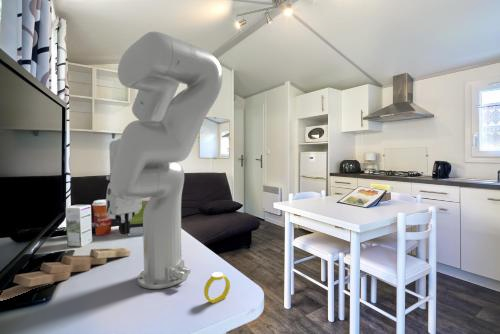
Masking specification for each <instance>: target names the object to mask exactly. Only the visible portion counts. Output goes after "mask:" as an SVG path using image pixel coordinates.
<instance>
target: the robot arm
mask: <svg viewBox="0 0 500 334" xmlns="http://www.w3.org/2000/svg"><path fill="white" fill-rule="evenodd" d="M117 77H118V81H119V82H120V84H121V85H122V86H123V87H125V88H129V89H133V90H137V93H136V96H135V99H134V101H133V103H132V107H131V112H132V113H133V116H134V117H135V118H136V119H137V120H133V121H131V122H130V123H128V124H127V125H126V127H124V129H123V130H122V133H121V136H120V137H119V138H117V139H116V140H111V141H110V143H109V147H108V148H109V174H108V175H106V176H105V178H106V180H107V181H109V183H108V185H107V189H106V197H105V200H106V211H107V213H108V214H107V218H109V219H112V220H115V221H116V222H117V223H118V232H119V234H121V235H128V234H129V233H130V221H131V220H132V217H133V216H134V215H135V214H137V213H139V212H140V209H141V208H142V200H141V198H145V197H151V198H150V199H149V201H148V203H147V205H146V206H145V209H144V212H143V235H142V238H143V243H142V244H143V245H142V247H143V271H141V272H140V273H139V274H138V275H137V284H138V285H139V286H140V287H142V288H145V289H148V290H161V289H165V288H166V289H167V288H171V287H173V286H176V285H179V284H180V283H182V282H185V281H186V280H187V279H188V276H189V275H190V274H191V268H187V267H186V266H185V260H184V259H183V260H182V197H183V195H182V194H183V189H184V184H185V171H184V168H183V166H182V165H181V164H180V163H181V162H184V161H185V160H186V159H188V157H189V156H190V153H191V152H192V149H193V147H194V144H195V143H196V141H197V138H198V135H199V133H200V131H201V129H202V126H203V123H204V121H205V119H206V117H207V115H208V114H209V112H210V110H211V108H212V107H213V105H214V104H215V102H216V101H217V99H218V97H219V95H220V92H221V90H222V89H221V88H222V86H223V85H222V84H223V69H222V66H221V64H220V61H219V60H218V59H217V58H216V57H215V56H214V55H213V54H212V53H210V52H208V51H207V50H205V49H203V48H201V47H199V46H196V45H194V44H191V43H188V42H186V41H184V40H181V39H179V38H176V37H174V36H171V35H169V34H165V33H163V32H160V31H159V32H158V31H149V32H147V33H145V34H143V35H142V36H141V37H139V39H137V40H136V41H135V42H134V43H132V44H131V45H130V46H129V47H128V48H127V49H126V50H125V51H124V53H123V54H122V56H121V57H120V60H119V62H118V65H117ZM180 84H182V85H183V84H184V85H186V88H184V89H182V90H180V92H178V93H177V94H176V92H177V91H178V88H179V85H180ZM175 94H176V95H175ZM179 162H180V163H179Z"/></svg>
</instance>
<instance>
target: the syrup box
mask: <svg viewBox="0 0 500 334" xmlns="http://www.w3.org/2000/svg"><path fill="white" fill-rule="evenodd" d="M65 216H66V217H65V222H66V238H67V239H66V241H67V244H66V245H67V247H72V248H73V247H76V248H77V247H78V248H79V247H80V248H82V247H85V246H87V245H89V244H91V243H93V235H92V234H93V233H92V232H93V231H92V204H74V205H70V206H67V207H65Z"/></svg>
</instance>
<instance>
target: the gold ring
mask: <svg viewBox="0 0 500 334" xmlns="http://www.w3.org/2000/svg"><path fill="white" fill-rule="evenodd" d="M210 276H211V277H210V278H209V279H208V280H207V281H206V282H205V285H204V289H203V293H204V297H205V299H206V300H207V301H208V302H209V303H211V304H215V303H218V302H220V301H223V300H225V299H226V297H227V296H228V294H229V292H230V289H231V288H230V287H231V284H230V283H231V282H230V280H229V278H228V277H227V276H226V275H224V272H221V271H215V272H212V273H211V275H210ZM223 279H224V282H225V286H224V290H223V292H222V293H221V295H219V296H216V297H214V298H212V299H211V298H210V296H209V289H210V287H211V285H212V283H213V282H214V281H221V280H223Z"/></svg>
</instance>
